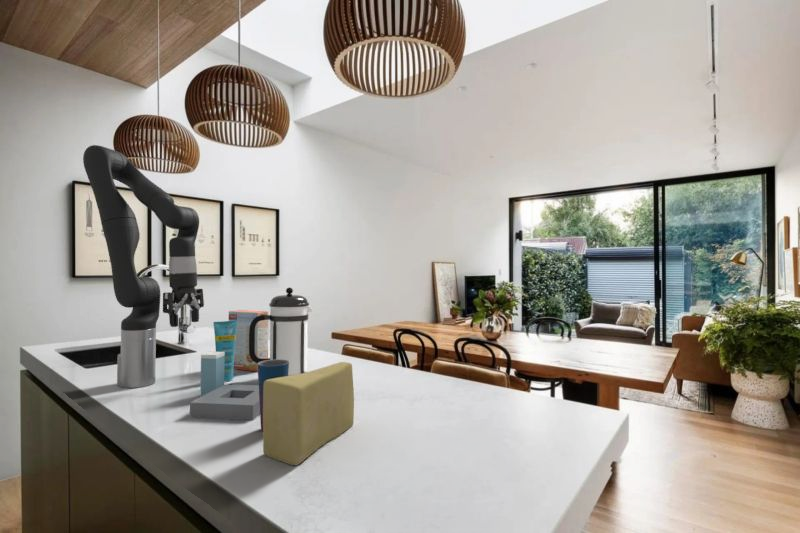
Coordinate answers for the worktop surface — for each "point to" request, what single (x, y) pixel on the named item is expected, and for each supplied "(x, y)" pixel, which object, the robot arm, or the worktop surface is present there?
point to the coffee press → (285, 331)
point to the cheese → (306, 411)
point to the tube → (226, 344)
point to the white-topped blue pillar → (212, 371)
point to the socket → (228, 403)
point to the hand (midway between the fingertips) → (185, 324)
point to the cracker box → (242, 339)
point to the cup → (270, 376)
